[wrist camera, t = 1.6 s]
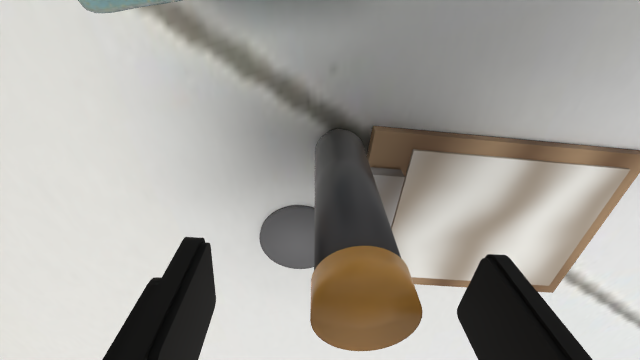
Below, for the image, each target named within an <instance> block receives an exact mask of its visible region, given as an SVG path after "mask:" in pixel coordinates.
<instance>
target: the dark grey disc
mask: <svg viewBox="0 0 640 360" xmlns="http://www.w3.org/2000/svg"><path fill="white" fill-rule="evenodd" d="M314 237H315V208H312V207H308V206H289V207H285V208H282V209H280V210H277V211H276V212H274V213H272V214H271V215H270V216H269V217H268V218H267V219H266V220H265V222H264V223H263V226H262V228H261V232H260V244H261V247H262V249H263V251H264V253H265V254H266V255H267V256H268V257H269V258H270V259H271V260H273V261H274V262H276V263H277V264H279V265H282V266H285V267H288V268H294V269H306V268H312V267H314Z"/></svg>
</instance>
